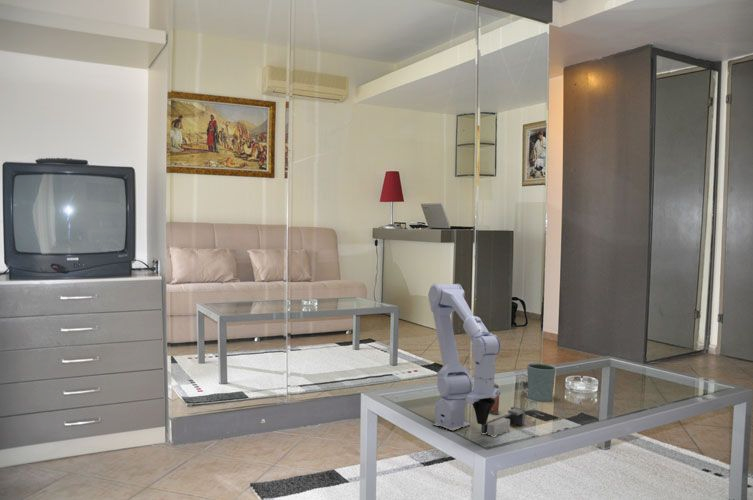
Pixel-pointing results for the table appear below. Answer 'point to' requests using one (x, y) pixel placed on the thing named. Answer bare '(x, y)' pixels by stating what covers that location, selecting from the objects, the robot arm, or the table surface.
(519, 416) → the bracket
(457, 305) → the robot arm
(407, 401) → the table surface
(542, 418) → the solid state drive
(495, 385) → the lighter
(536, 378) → the green plant pot
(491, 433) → the bar
